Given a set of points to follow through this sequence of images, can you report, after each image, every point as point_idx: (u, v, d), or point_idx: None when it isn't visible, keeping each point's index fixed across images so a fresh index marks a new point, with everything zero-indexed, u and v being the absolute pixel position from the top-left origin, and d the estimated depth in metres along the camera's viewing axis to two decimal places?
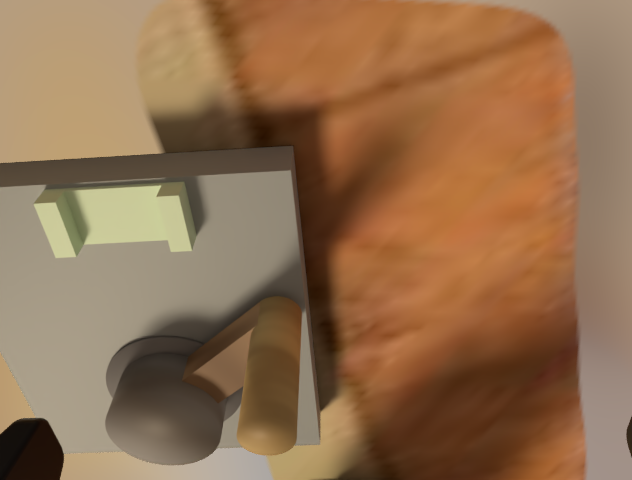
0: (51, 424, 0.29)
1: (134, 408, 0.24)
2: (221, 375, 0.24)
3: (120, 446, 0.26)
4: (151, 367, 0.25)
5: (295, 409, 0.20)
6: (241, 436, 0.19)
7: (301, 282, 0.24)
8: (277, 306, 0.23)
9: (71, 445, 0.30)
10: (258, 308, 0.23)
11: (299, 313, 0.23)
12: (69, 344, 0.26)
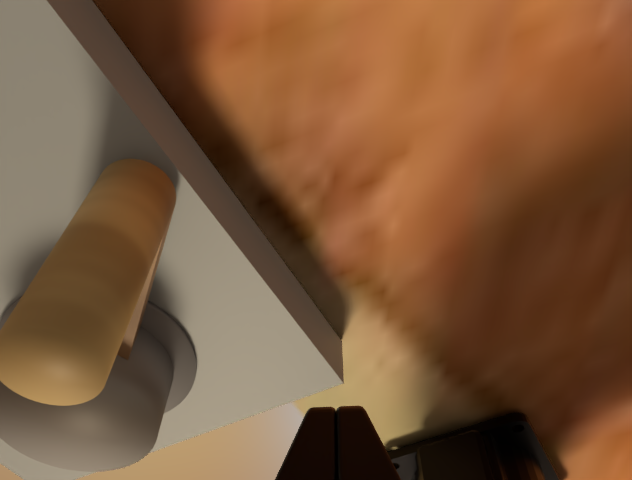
0: (7, 456, 0.22)
1: (10, 400, 0.16)
2: None
3: (40, 459, 0.18)
4: None
5: (94, 305, 0.10)
6: (9, 381, 0.10)
7: (142, 126, 0.14)
8: (109, 173, 0.14)
9: (48, 476, 0.23)
10: None
11: (154, 174, 0.14)
12: None
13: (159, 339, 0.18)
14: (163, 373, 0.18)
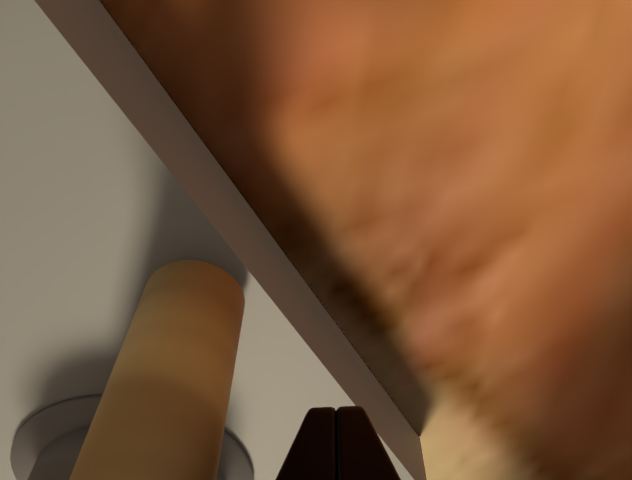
0: None
1: None
2: None
3: None
4: (44, 466, 0.14)
5: None
6: None
7: (204, 218, 0.11)
8: (162, 283, 0.11)
9: None
10: (139, 302, 0.11)
11: (221, 282, 0.11)
12: None
13: None
14: None
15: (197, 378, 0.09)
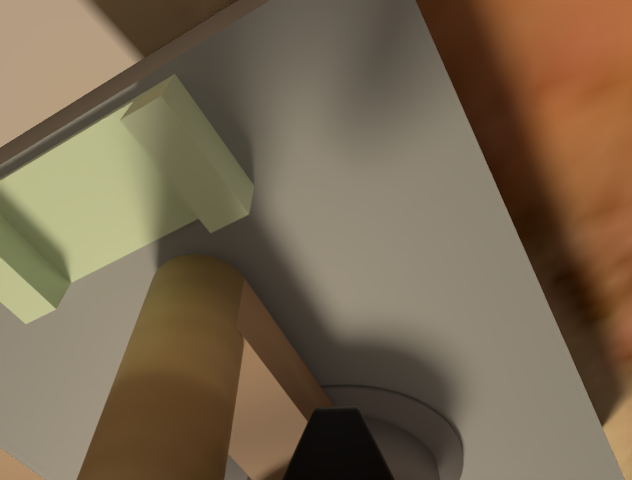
0: None
1: None
2: (268, 445, 0.12)
3: None
4: None
5: None
6: None
7: (500, 202, 0.11)
8: (145, 300, 0.11)
9: None
10: None
11: (186, 266, 0.11)
12: None
13: None
14: (402, 454, 0.13)
15: (156, 360, 0.09)
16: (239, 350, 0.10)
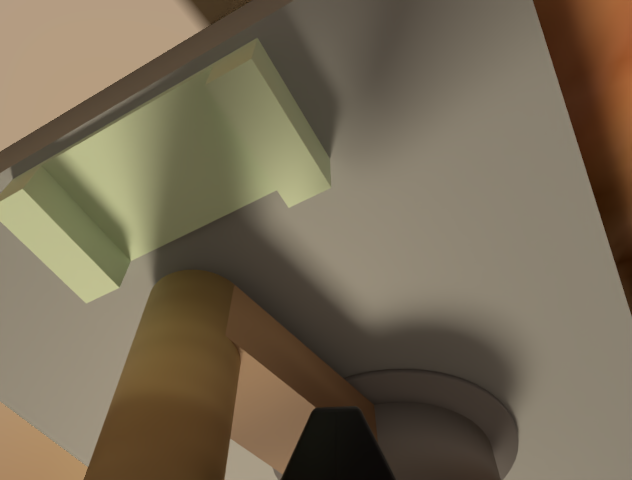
0: None
1: None
2: (295, 445, 0.12)
3: None
4: None
5: None
6: None
7: (585, 179, 0.10)
8: None
9: None
10: None
11: (172, 284, 0.11)
12: None
13: None
14: (441, 433, 0.13)
15: (140, 382, 0.09)
16: (231, 358, 0.10)
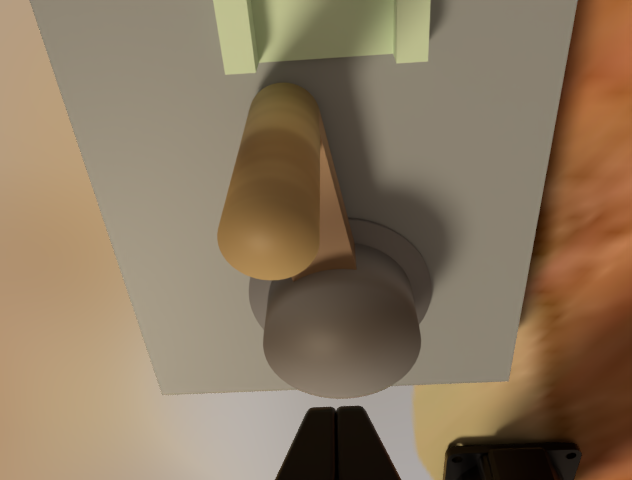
0: (163, 352, 0.22)
1: (285, 348, 0.18)
2: None
3: (337, 395, 0.20)
4: (269, 297, 0.19)
5: (277, 174, 0.11)
6: (248, 270, 0.12)
7: (552, 129, 0.17)
8: (251, 107, 0.15)
9: (184, 382, 0.23)
10: None
11: (286, 87, 0.15)
12: (207, 231, 0.19)
13: None
14: (395, 273, 0.18)
15: (280, 124, 0.13)
16: None
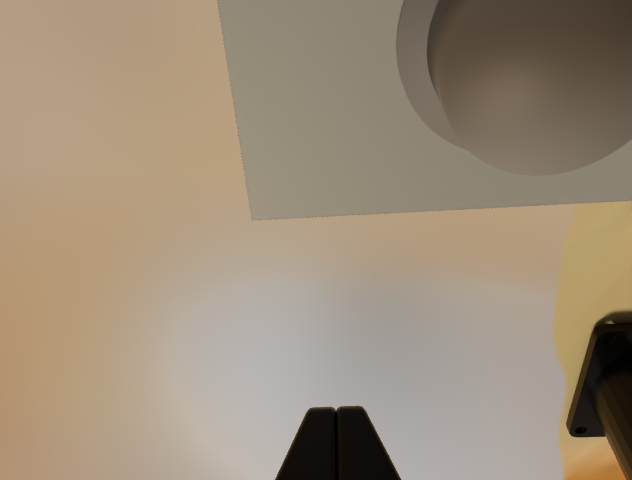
0: (261, 147, 0.16)
1: (475, 76, 0.12)
2: None
3: (533, 170, 0.13)
4: (442, 13, 0.13)
5: None
6: None
7: None
8: None
9: (284, 199, 0.17)
10: None
11: None
12: None
13: None
14: None
15: None
16: None
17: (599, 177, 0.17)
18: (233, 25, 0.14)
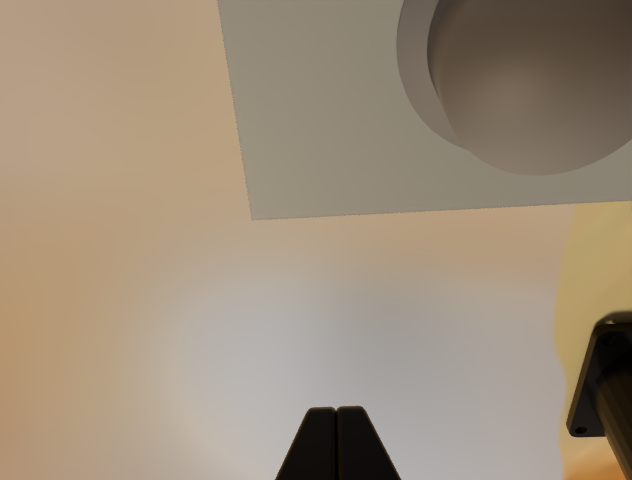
0: (261, 147, 0.16)
1: (475, 75, 0.12)
2: None
3: (533, 169, 0.13)
4: (443, 13, 0.13)
5: None
6: None
7: None
8: None
9: (284, 199, 0.17)
10: None
11: None
12: None
13: None
14: None
15: None
16: None
17: (599, 177, 0.17)
18: (233, 25, 0.14)
